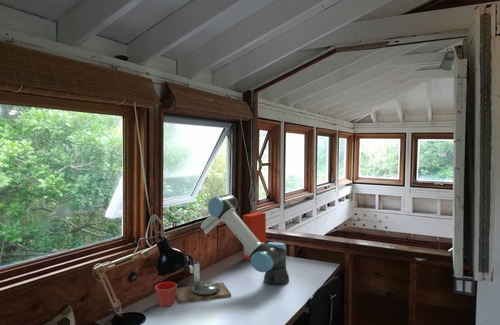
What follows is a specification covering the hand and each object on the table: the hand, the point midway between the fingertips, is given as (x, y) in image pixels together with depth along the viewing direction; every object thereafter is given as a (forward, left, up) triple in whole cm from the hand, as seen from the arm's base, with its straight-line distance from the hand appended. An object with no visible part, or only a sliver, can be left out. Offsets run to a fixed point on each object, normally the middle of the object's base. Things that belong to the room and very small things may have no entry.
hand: (192, 270), depth 209 cm
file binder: (-53, -46, -10) cm, 71 cm away
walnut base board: (-4, +9, -10) cm, 14 cm away
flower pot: (+16, +16, -10) cm, 25 cm away
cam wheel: (-7, +9, -8) cm, 14 cm away
